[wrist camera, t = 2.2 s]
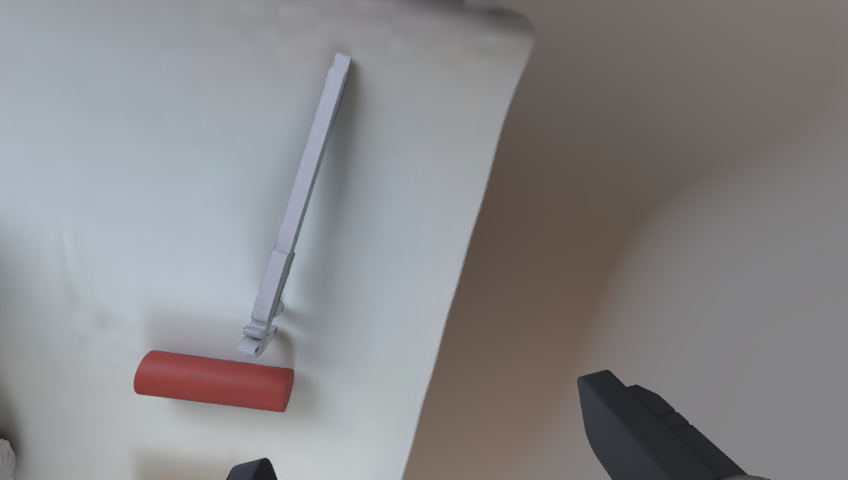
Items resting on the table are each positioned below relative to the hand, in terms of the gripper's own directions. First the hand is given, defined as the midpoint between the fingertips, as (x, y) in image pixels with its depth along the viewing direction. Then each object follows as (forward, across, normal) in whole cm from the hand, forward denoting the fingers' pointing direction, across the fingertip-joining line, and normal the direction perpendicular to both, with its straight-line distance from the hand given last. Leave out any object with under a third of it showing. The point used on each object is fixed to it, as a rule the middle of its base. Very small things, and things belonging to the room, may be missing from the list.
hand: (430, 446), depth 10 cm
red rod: (+20, +15, +6) cm, 26 cm away
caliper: (+20, +6, -6) cm, 22 cm away
